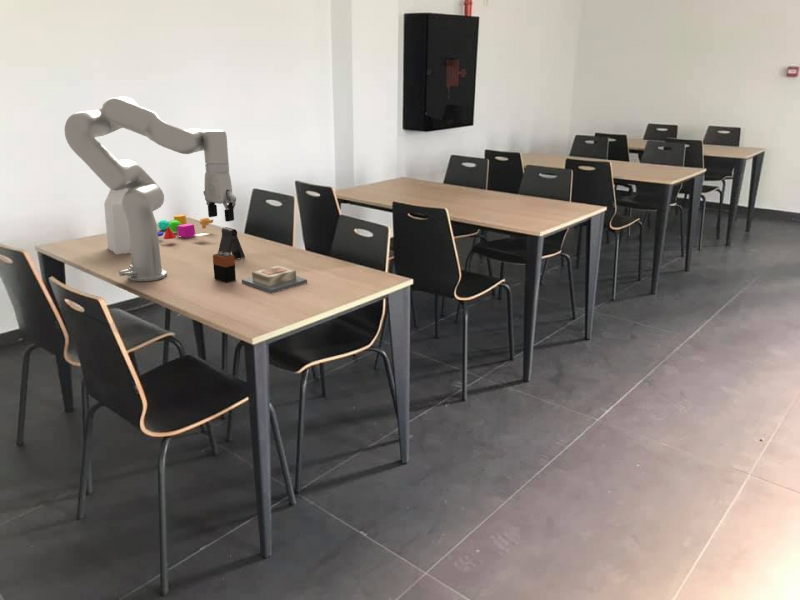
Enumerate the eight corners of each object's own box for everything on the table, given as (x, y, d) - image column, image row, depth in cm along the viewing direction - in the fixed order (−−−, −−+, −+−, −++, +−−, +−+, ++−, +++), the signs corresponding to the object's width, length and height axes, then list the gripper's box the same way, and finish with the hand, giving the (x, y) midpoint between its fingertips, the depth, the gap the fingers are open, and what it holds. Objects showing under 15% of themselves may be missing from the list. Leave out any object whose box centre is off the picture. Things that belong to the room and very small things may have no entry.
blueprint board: (270, 293, 210) (270, 289, 210) (241, 282, 220) (241, 279, 219) (307, 282, 222) (307, 279, 221) (278, 273, 231) (277, 270, 231)
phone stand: (226, 261, 244) (223, 231, 240) (216, 258, 248) (214, 228, 244) (245, 257, 250) (243, 227, 246) (235, 254, 254) (234, 225, 250)
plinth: (268, 286, 213) (268, 277, 212) (252, 280, 219) (252, 271, 218) (296, 278, 222) (295, 269, 221) (279, 273, 227) (279, 264, 226)
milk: (116, 254, 250) (108, 189, 241) (107, 248, 258) (99, 184, 249) (147, 250, 257) (140, 186, 248) (137, 244, 265) (130, 182, 256)
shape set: (184, 228, 301) (181, 213, 299) (232, 233, 281) (230, 217, 279) (128, 239, 278) (125, 223, 276) (177, 246, 259) (174, 228, 256)
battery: (227, 283, 219) (225, 255, 216) (213, 279, 223) (211, 252, 219) (236, 280, 223) (234, 252, 219) (223, 276, 226) (221, 249, 223)
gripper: (192, 166, 212) (197, 216, 218) (223, 172, 202) (226, 224, 207) (212, 164, 218) (216, 213, 223) (242, 169, 207) (245, 220, 213)
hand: (221, 218), depth 215 cm, fingers open, 9 cm apart
